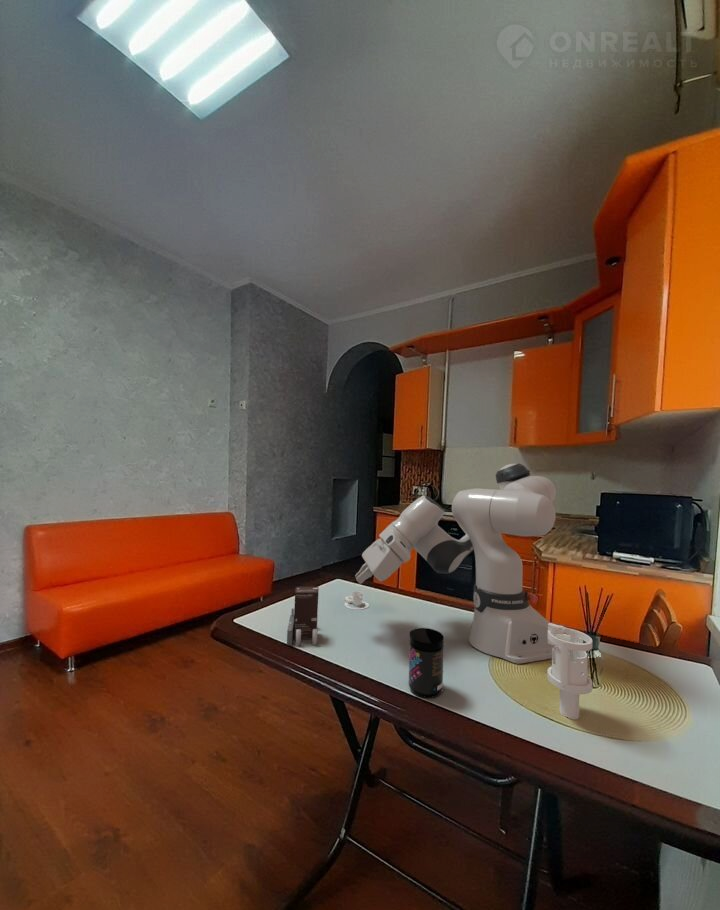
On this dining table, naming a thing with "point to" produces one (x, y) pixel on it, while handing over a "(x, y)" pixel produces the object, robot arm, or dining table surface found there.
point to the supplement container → (426, 662)
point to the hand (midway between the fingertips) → (357, 580)
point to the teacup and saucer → (355, 601)
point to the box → (305, 611)
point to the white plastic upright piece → (569, 668)
